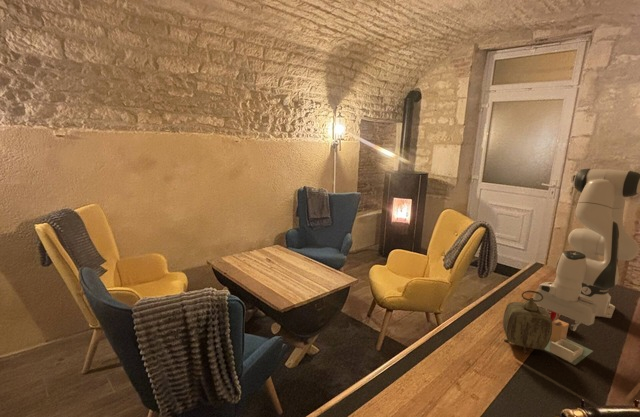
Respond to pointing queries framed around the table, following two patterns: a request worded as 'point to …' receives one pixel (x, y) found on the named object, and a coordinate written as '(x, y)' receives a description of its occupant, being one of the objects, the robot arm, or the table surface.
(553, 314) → the soda can
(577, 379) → the table surface
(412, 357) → the table surface
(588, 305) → the robot arm
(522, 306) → the tabletop clock
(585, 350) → the board
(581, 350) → the frame
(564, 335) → the plug
